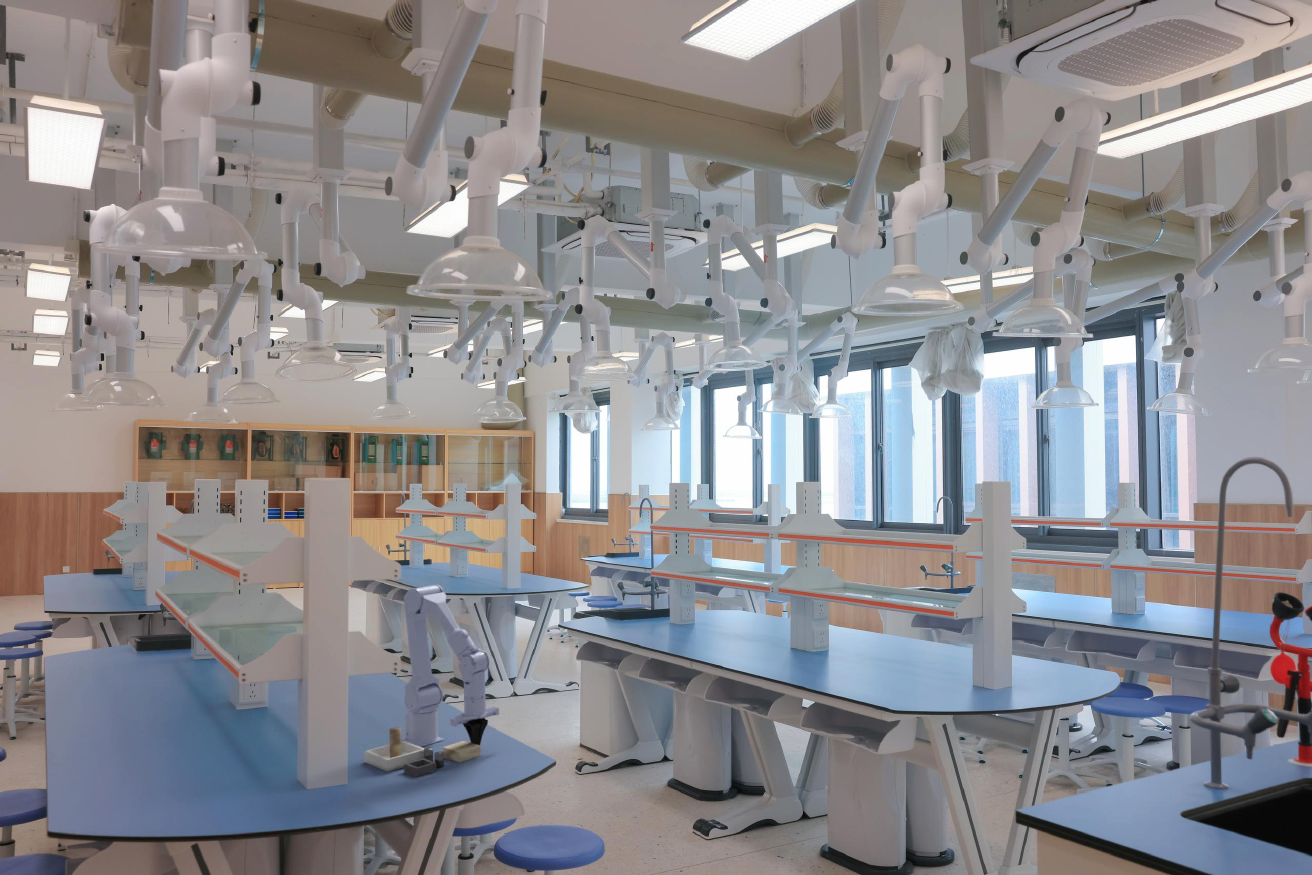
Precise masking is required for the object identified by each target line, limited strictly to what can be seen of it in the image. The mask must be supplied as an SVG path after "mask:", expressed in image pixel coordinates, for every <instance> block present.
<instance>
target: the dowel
mask: <svg viewBox="0 0 1312 875" xmlns="http://www.w3.org/2000/svg"><path fill="white" fill-rule="evenodd" d="M388 733H389V735H388V736H389V740H388V741H389V744H390V758H393V757H396V756H400V755H402V751H401V741H402V728H401V727H398V726H396V727H391V728H389V732H388Z"/></svg>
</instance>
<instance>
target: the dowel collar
mask: <svg viewBox="0 0 1312 875" xmlns="http://www.w3.org/2000/svg"><path fill="white" fill-rule="evenodd" d="M403 768H404V769H403V770H404V773H407V774H409V775H412V776H414V777H419V776H420V777H421V776H424V775H427V774H429V773H434V772H436V771H437V768H436V763H435V762H434V760H433V761H430V760H427V759H425V758H423V759H420V760H416V761H412V762H409V763H405V764H404V767H403Z"/></svg>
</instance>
